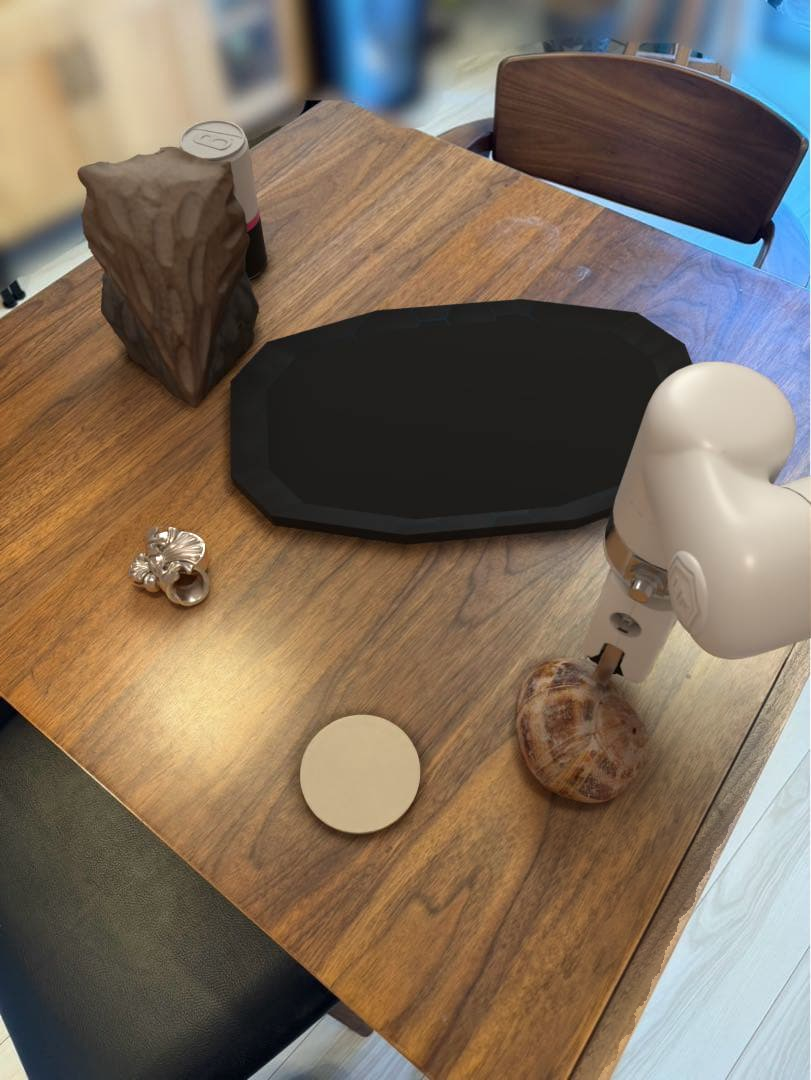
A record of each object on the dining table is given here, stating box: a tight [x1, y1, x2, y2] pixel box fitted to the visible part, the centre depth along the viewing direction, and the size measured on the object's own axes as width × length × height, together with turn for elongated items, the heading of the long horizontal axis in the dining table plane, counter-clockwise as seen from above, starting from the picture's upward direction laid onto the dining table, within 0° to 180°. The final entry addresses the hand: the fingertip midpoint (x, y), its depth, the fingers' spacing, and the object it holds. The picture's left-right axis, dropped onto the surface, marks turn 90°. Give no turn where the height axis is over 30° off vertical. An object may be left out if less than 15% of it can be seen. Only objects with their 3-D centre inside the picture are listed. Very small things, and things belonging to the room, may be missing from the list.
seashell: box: [514, 657, 649, 804], centre depth 66 cm, size 10×9×10 cm
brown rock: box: [76, 146, 260, 409], centre depth 83 cm, size 13×13×20 cm
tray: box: [229, 298, 694, 545], centre depth 85 cm, size 45×28×2 cm, turn 96°
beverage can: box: [178, 119, 268, 280], centre depth 91 cm, size 7×6×15 cm
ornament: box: [127, 525, 211, 607], centre depth 75 cm, size 8×7×4 cm
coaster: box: [299, 714, 421, 835], centre depth 67 cm, size 9×9×1 cm
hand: (611, 660), depth 70 cm, fingers closed
